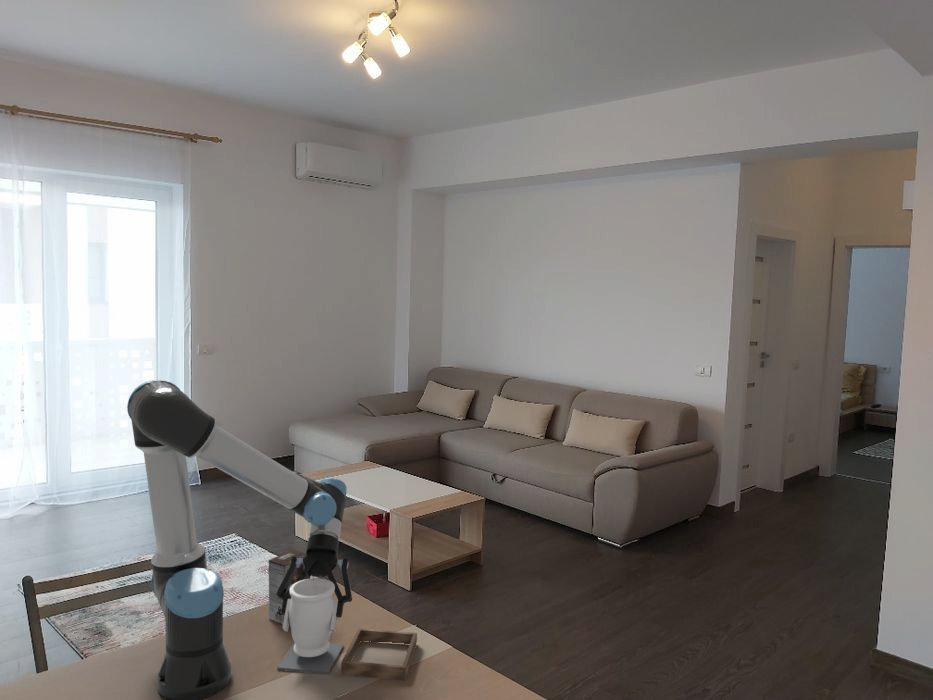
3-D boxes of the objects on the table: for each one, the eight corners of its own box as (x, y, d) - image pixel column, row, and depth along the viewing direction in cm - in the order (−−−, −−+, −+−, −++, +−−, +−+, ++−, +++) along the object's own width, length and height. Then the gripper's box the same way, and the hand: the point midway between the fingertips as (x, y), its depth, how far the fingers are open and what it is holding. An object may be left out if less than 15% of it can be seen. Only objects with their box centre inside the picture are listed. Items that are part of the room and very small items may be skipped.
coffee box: (293, 605, 191) (294, 548, 189) (311, 612, 187) (311, 554, 186) (267, 619, 183) (268, 559, 181) (285, 626, 179) (285, 565, 178)
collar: (341, 675, 158) (341, 662, 158) (358, 639, 174) (358, 628, 174) (405, 680, 157) (405, 667, 157) (416, 644, 173) (416, 633, 172)
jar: (323, 663, 159) (324, 600, 157) (280, 657, 161) (281, 594, 159) (341, 640, 169) (341, 580, 167) (300, 634, 171) (301, 575, 169)
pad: (277, 669, 160) (277, 667, 160) (295, 642, 172) (295, 640, 171) (329, 674, 159) (329, 671, 158) (343, 646, 170) (343, 644, 170)
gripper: (371, 546, 178) (360, 637, 164) (281, 543, 178) (262, 633, 164) (368, 534, 172) (356, 626, 158) (275, 530, 172) (255, 623, 158)
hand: (308, 630), depth 161 cm, fingers closed on jar, 10 cm apart
